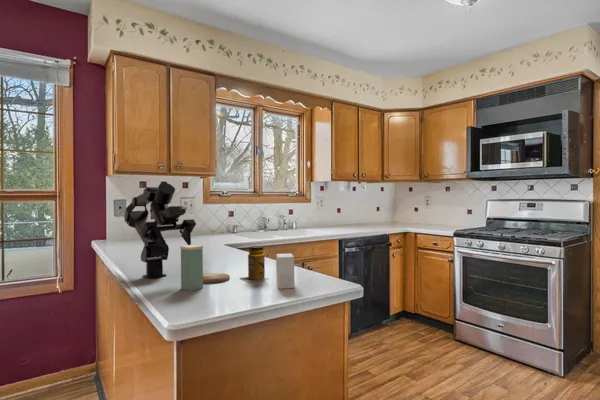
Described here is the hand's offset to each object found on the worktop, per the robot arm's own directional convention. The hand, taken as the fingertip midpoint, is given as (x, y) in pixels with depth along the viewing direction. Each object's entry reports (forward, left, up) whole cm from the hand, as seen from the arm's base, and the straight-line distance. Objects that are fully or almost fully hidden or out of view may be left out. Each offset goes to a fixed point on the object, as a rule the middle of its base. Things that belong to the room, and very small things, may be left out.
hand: (178, 246), depth 125 cm
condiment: (+15, +22, -14) cm, 30 cm away
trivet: (+3, +12, -13) cm, 18 cm away
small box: (+31, +21, -14) cm, 40 cm away
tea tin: (+8, 0, -13) cm, 16 cm away
